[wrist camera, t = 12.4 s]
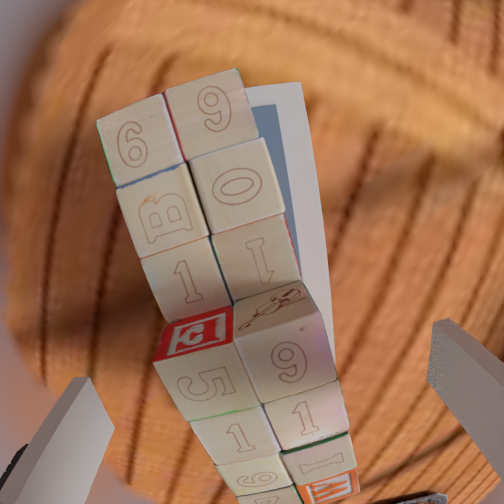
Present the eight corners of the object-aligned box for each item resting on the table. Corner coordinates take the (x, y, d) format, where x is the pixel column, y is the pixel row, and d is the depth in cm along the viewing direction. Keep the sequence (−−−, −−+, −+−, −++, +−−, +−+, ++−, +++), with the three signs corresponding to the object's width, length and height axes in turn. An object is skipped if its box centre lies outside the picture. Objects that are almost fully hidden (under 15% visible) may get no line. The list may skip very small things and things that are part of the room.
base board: (140, 119, 23) (127, 112, 20) (293, 92, 23) (300, 80, 20) (207, 411, 29) (205, 433, 26) (329, 391, 29) (337, 411, 26)
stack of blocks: (150, 139, 20) (57, 103, 8) (239, 109, 20) (244, 31, 8) (244, 400, 25) (251, 524, 13) (317, 379, 25) (362, 496, 13)
